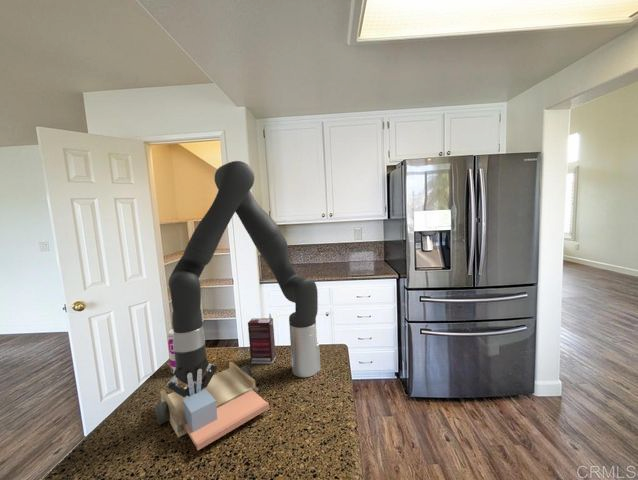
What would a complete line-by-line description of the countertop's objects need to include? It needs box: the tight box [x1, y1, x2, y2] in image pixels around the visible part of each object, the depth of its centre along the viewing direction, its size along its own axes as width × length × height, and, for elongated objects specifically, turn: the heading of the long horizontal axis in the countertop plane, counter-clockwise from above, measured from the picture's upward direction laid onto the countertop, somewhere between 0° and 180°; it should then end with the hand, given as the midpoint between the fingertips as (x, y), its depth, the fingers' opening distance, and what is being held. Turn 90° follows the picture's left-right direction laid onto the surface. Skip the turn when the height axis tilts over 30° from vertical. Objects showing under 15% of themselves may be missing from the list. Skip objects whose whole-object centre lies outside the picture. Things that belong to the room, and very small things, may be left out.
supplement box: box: [247, 317, 277, 365], centre depth 104 cm, size 9×5×16 cm, turn 82°
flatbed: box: [154, 361, 259, 438], centre depth 81 cm, size 27×18×5 cm, turn 133°
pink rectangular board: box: [185, 390, 270, 451], centre depth 72 cm, size 19×1×9 cm
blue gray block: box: [182, 389, 217, 432], centre depth 70 cm, size 6×7×5 cm
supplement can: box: [167, 328, 176, 375], centre depth 100 cm, size 8×8×15 cm
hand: (195, 405), depth 74 cm, fingers closed
